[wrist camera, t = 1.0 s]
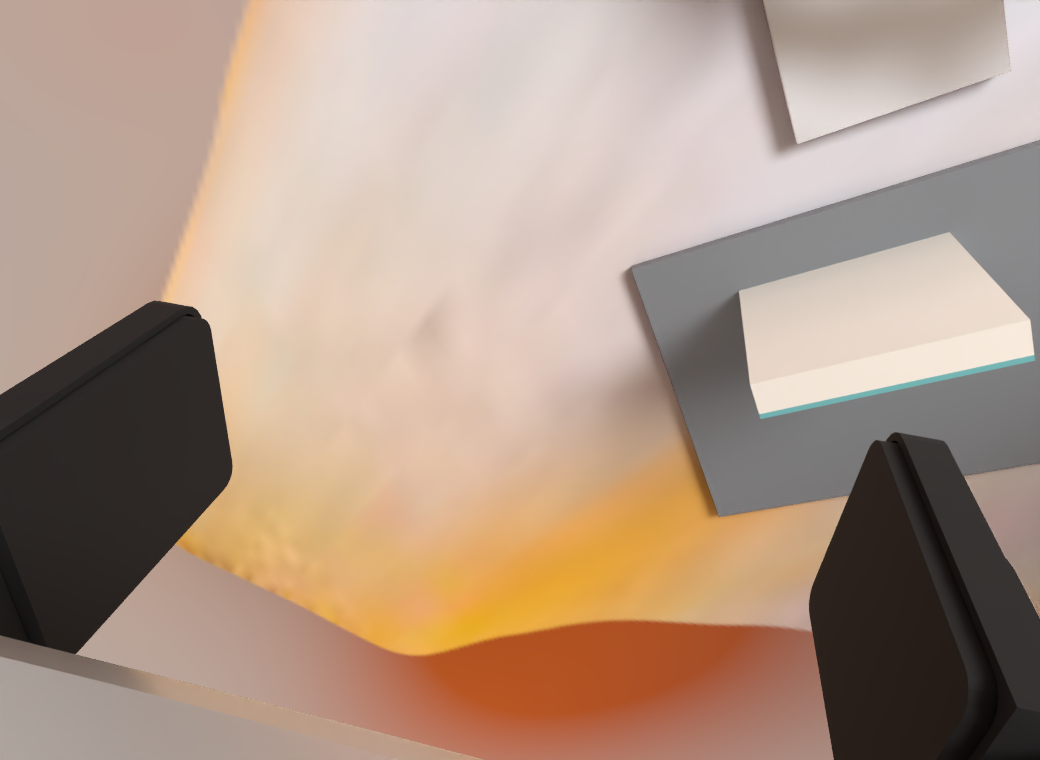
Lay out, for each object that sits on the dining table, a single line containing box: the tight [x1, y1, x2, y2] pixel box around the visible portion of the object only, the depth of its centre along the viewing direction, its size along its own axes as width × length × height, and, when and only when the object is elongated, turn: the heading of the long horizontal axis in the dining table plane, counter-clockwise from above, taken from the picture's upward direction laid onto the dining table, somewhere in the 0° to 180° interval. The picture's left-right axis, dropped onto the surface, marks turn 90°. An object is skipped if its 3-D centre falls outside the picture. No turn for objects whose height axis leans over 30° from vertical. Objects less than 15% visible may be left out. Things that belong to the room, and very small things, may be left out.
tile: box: [739, 232, 1035, 419], centre depth 26 cm, size 8×1×8 cm, turn 112°
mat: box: [632, 140, 1040, 517], centre depth 31 cm, size 16×14×1 cm
